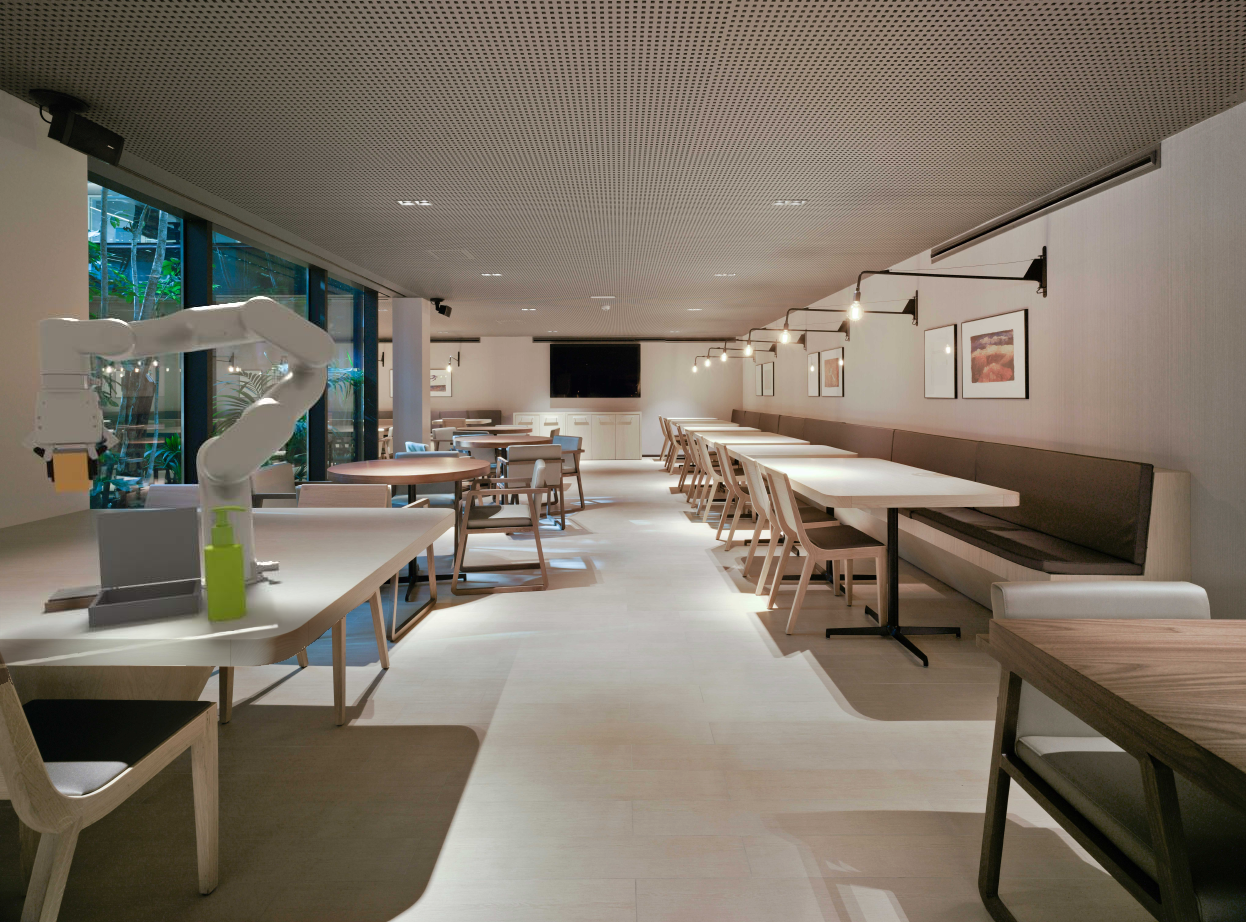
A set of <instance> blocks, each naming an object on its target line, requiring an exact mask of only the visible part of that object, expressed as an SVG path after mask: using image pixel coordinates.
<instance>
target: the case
mask: <svg viewBox="0 0 1246 922" xmlns="http://www.w3.org/2000/svg"><path fill="white" fill-rule="evenodd" d="M201 579H202V578H194V579H186V580H177V581H168V582H159V583H150V584H141V585H132V586H124V587H118V588H116V589H107V590H101V591H100V592H99V594H98V595H97V596H96V598H95V599H94V600H93V602H92V603H91V605H90V606H89V607H87V612H88V613H87V614H88V615H87V616H88V626H89V628H90V629H91V628H92V629H93V628H99V627H107V626H113V625H122V624H128V623H129V624H130V623H137V622H144V621H145V622H146V621H152V620H153V621H154V620H159V619H167V618H168V619H169V618H174V617H175V618H176V617H182V616H188V615H190V616H191V615H197V614H200V610H201V605H202V599H203V588H202V587H201Z"/></svg>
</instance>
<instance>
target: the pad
mask: <svg viewBox="0 0 1246 922" xmlns="http://www.w3.org/2000/svg"><path fill="white" fill-rule="evenodd" d="M116 588H119V587H114V588H105V589H101V584H98V585H97V584H95V585H86V586H79V587H69V588H60V589H57V591H56V590H55V592H54V593H53V594H52V595H50V597H49V598H48V599H47V600H46V601H45V602H44V612H46V613H47V612H55V611H63V610H65V611H66V610H72V609H79V608H88V607H89V606H90V605H91V603H92V602H93V600H94V599H95V598H96V596H97V595H98V594H99V592H100V591H101V590H107V589H116Z"/></svg>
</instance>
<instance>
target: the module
mask: <svg viewBox="0 0 1246 922" xmlns="http://www.w3.org/2000/svg"><path fill="white" fill-rule="evenodd" d="M52 452H53V465H54V478H55V482H54V489H55V493H67V492H68V493H70V492H84V491H85V492H87V491H91V490H93V489H94V480H89V472H88V460H89V456H90V455H89V453H88V450H87V448H86V447H69V448H68V447H66V448H65V447H64V448H60V447H58V448H57V449H53V450H52Z"/></svg>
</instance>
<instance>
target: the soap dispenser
mask: <svg viewBox="0 0 1246 922" xmlns="http://www.w3.org/2000/svg"><path fill="white" fill-rule="evenodd" d="M246 509H247V508H245V507H239V506H226V507H218V508H213V509H211V513H213V512H216V523H217V525H214V526H213V527H211V533H212V545H210V546H207V547H205V548H204V555H205V571H206V587H207V589H206V598H207V601H206V602H207V615H208V621H211V622H224V621H231V620H236V619H239V618H243V617H245V616H246V615H247V603H246V601H247V600H246V585H245V581H244V564H243V547H242V544H240V543H234V531H233V525H230V524H228V522H227V511H242V512H243V511H245V510H246ZM204 555H203V556H204ZM205 571H204V572H205Z"/></svg>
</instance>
